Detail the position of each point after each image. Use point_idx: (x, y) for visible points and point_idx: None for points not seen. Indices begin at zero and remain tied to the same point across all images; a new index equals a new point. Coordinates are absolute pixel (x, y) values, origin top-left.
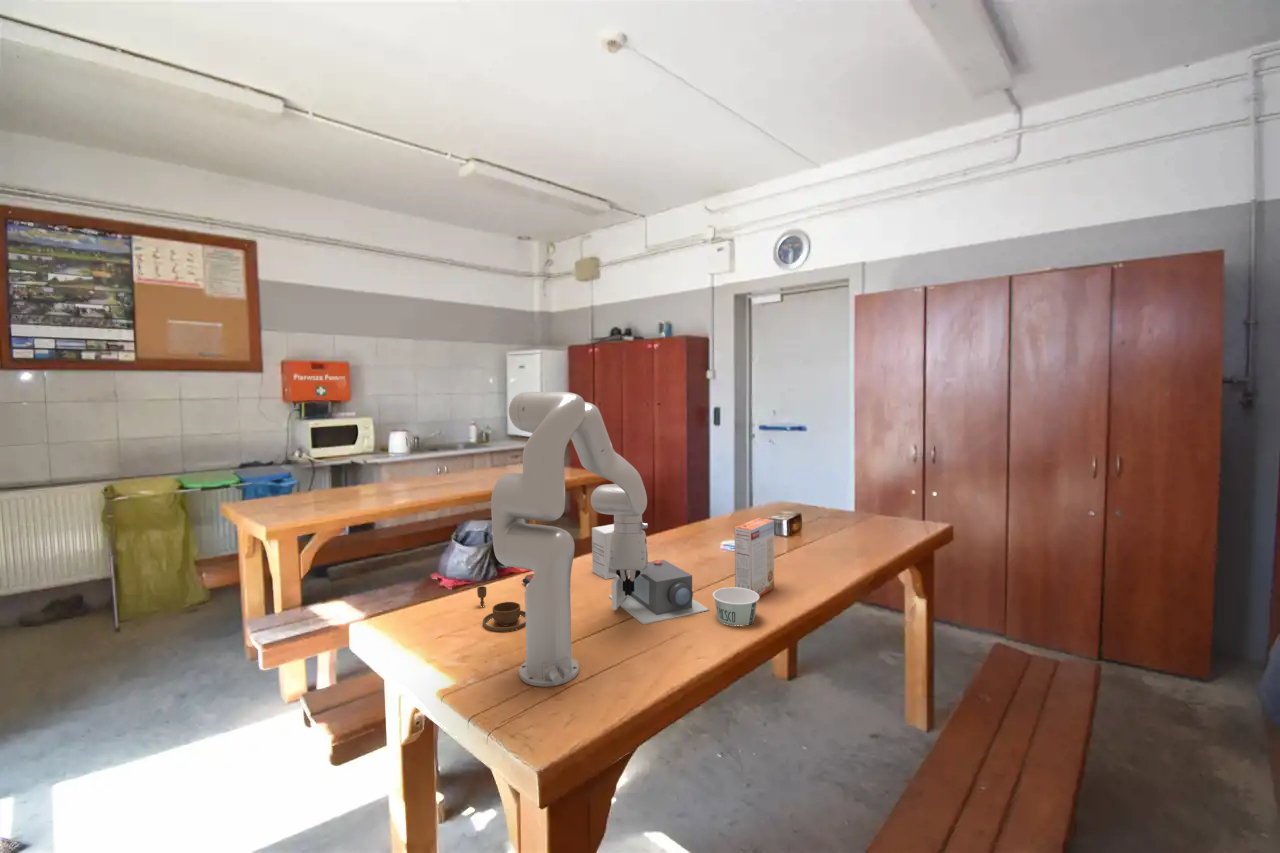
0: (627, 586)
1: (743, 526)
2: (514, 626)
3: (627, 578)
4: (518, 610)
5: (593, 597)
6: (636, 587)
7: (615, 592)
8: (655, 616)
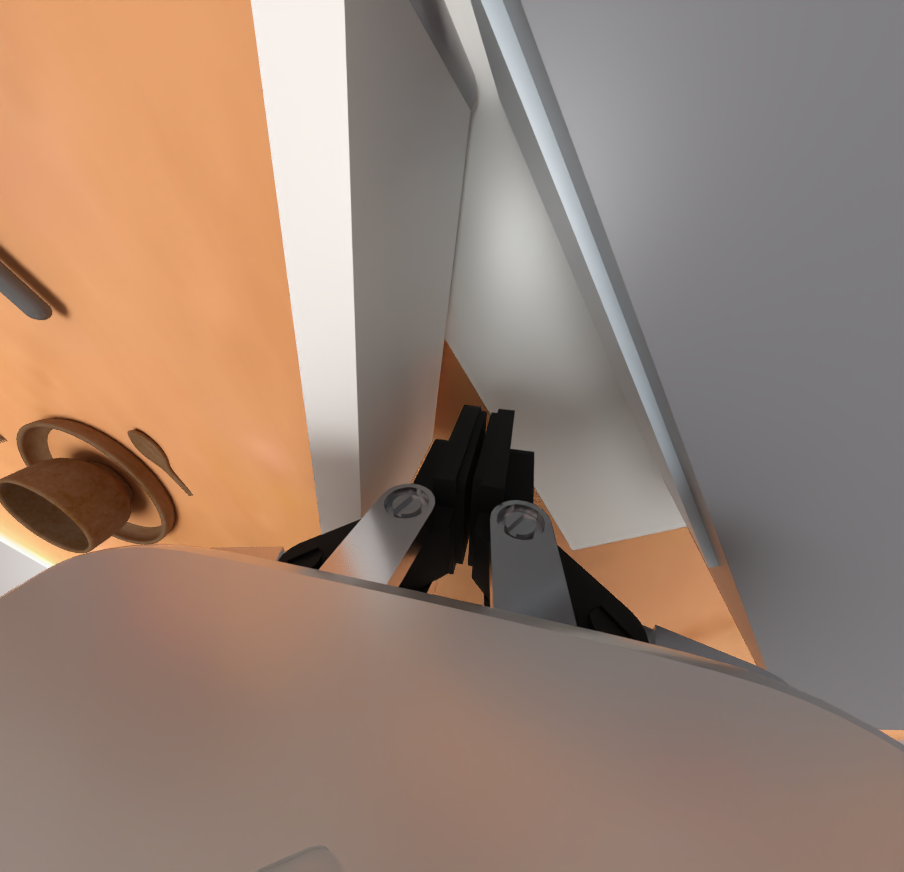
0: (469, 532)
1: None
2: (159, 540)
3: (451, 539)
4: (96, 527)
5: (220, 150)
6: (562, 238)
7: None
8: (653, 497)
